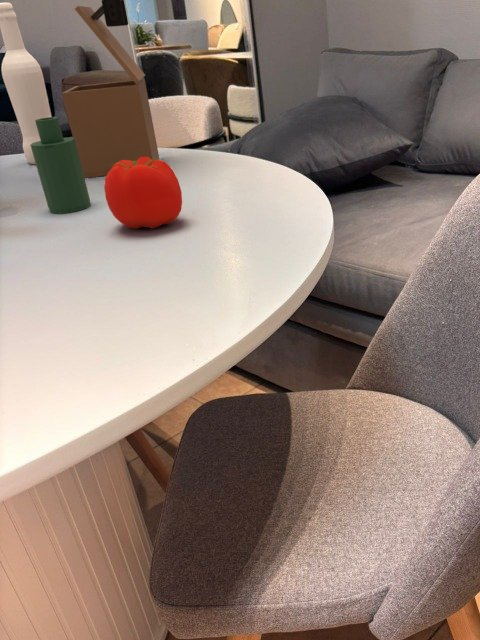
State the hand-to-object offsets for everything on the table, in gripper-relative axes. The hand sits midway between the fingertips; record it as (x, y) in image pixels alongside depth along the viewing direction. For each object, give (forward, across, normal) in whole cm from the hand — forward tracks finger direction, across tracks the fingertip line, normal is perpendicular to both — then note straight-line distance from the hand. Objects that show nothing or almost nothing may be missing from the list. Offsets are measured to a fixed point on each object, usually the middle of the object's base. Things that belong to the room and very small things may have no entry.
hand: (117, 24), depth 115 cm
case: (+24, 0, -4) cm, 25 cm away
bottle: (+25, -18, -23) cm, 38 cm away
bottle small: (+25, +30, -9) cm, 40 cm away
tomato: (+25, +46, +5) cm, 52 cm away
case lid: (+3, 0, -2) cm, 4 cm away
